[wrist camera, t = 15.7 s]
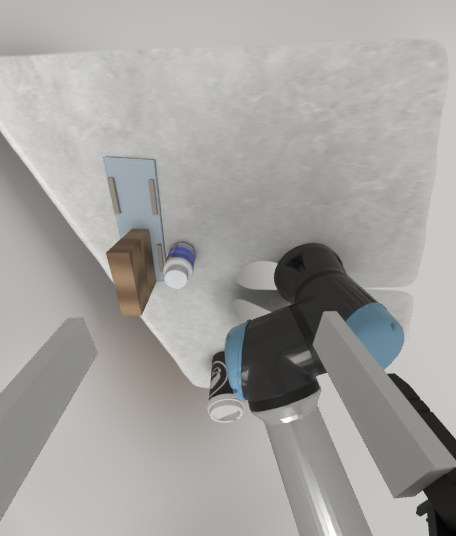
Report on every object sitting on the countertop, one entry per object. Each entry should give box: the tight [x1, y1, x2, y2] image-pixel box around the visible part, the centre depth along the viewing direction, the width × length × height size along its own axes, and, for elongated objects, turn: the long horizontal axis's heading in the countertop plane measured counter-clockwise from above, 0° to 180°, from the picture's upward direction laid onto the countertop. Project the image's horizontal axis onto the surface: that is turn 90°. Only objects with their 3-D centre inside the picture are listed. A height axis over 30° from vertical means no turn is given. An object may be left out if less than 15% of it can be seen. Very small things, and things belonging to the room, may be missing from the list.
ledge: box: [103, 157, 166, 282], centre depth 39 cm, size 8×24×2 cm, turn 177°
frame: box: [106, 229, 156, 316], centre depth 37 cm, size 12×3×11 cm, turn 177°
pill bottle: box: [163, 243, 195, 289], centre depth 39 cm, size 5×5×10 cm
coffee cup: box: [207, 352, 245, 423], centre depth 54 cm, size 10×10×15 cm
